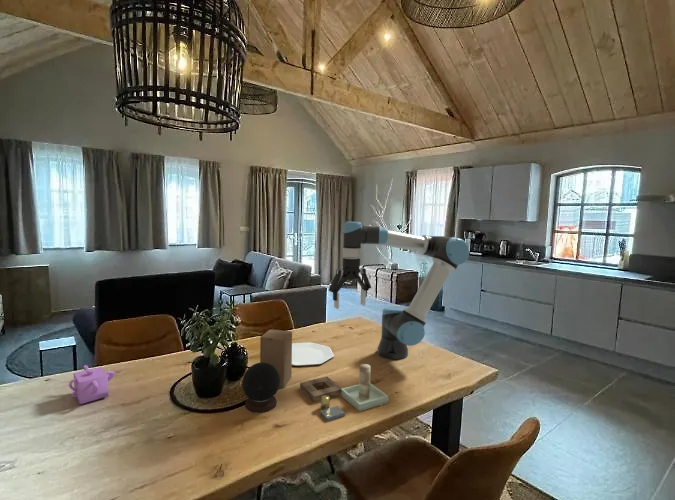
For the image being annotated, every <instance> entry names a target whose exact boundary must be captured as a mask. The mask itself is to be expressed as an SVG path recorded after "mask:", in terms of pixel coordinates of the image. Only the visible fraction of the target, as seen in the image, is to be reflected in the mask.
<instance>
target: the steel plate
mask: <svg viewBox="0 0 675 500" xmlns="http://www.w3.org/2000/svg"><path fill="white" fill-rule="evenodd" d="M345 413H346V412H345V411H343V410H342V409H341V408H340V407H339V406H338V405H335V406H331V407H329V408H328V409H325V410H322V409H321V410H319V415H320V416H321V418H323V419H324V420H325V421H326V422H330V421H333V420H336V419H340V418H344V417H345V416H346V415H345Z"/></svg>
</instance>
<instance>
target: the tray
mask: <svg viewBox="0 0 675 500" xmlns="http://www.w3.org/2000/svg"><path fill="white" fill-rule="evenodd" d="M341 388H342V387H341ZM340 397H342V398H344V399H345V400H346V401H347V402H348V403H349V404H350V405H351V406H353V408H355V409H356V410H357V411H359V412H362V411H365V410H368V409H372V408H375V407H378V406H382V405H385V404H388V403H389V397H390V396H389V395H388V394H387V393H385V392H383V391H382V390H381V389H379V388H378V387H377V386H375V385H374V384H372V383H371V382H370V396H369V399H368V400H361V399H360V398H359V383H358V384H354V385H350V386H347V387H346V386H345V387H343V388H342V389H341V396H340Z"/></svg>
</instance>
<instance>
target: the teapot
mask: <svg viewBox="0 0 675 500" xmlns="http://www.w3.org/2000/svg"><path fill="white" fill-rule="evenodd" d="M108 375H109V376H108ZM114 377H115V371H112V370H109V371H105V370H104V369H103V367H102V366H99V367H94V368H91V369H90V368H89V366H88V365H87V364H85V365H83V370H82V371H78V372H77V371H76V372H74V373H73V379H71V380H70V381H69V384H68V386H69V388H70V389H71V390H72V393H71V396H72V397H73V398H76V400H77V402H78V403H79V405H82V404H83V405H84V404H86V403H89V402H93V401H96V400H100V399H103V398H107V397H109V382H110V381H111V380H112V379H113V378H114ZM72 384H73V385H72Z"/></svg>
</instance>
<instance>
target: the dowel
mask: <svg viewBox="0 0 675 500" xmlns="http://www.w3.org/2000/svg"><path fill="white" fill-rule="evenodd" d="M371 370H372V369H371V365H370V364H367V363H362V364H360V365H359V379H358V380H359V381H358V384H359V398H360V399H361V400H368V399H369V396H370V383H371Z"/></svg>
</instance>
